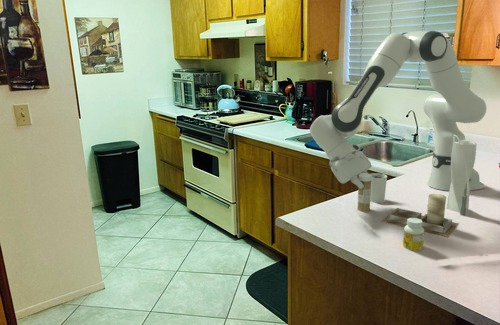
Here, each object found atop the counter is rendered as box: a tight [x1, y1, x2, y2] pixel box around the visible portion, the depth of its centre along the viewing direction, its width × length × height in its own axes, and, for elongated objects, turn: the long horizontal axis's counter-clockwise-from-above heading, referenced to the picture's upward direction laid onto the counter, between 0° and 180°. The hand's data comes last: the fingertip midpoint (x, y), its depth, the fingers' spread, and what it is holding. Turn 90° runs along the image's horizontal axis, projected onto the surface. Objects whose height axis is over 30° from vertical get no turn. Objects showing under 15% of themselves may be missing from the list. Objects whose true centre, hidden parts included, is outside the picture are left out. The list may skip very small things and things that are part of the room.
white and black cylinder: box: [370, 172, 388, 204], centre depth 157 cm, size 7×7×10 cm
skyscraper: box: [445, 135, 477, 217], centre depth 139 cm, size 8×8×28 cm
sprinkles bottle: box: [357, 172, 372, 213], centre depth 143 cm, size 5×5×14 cm
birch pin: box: [426, 193, 447, 227], centre depth 128 cm, size 5×5×10 cm
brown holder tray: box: [380, 207, 460, 238], centre depth 132 cm, size 21×13×3 cm, turn 50°
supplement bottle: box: [402, 218, 425, 252], centre depth 115 cm, size 5×5×10 cm
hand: (366, 185), depth 142 cm, fingers closed on sprinkles bottle, 4 cm apart
